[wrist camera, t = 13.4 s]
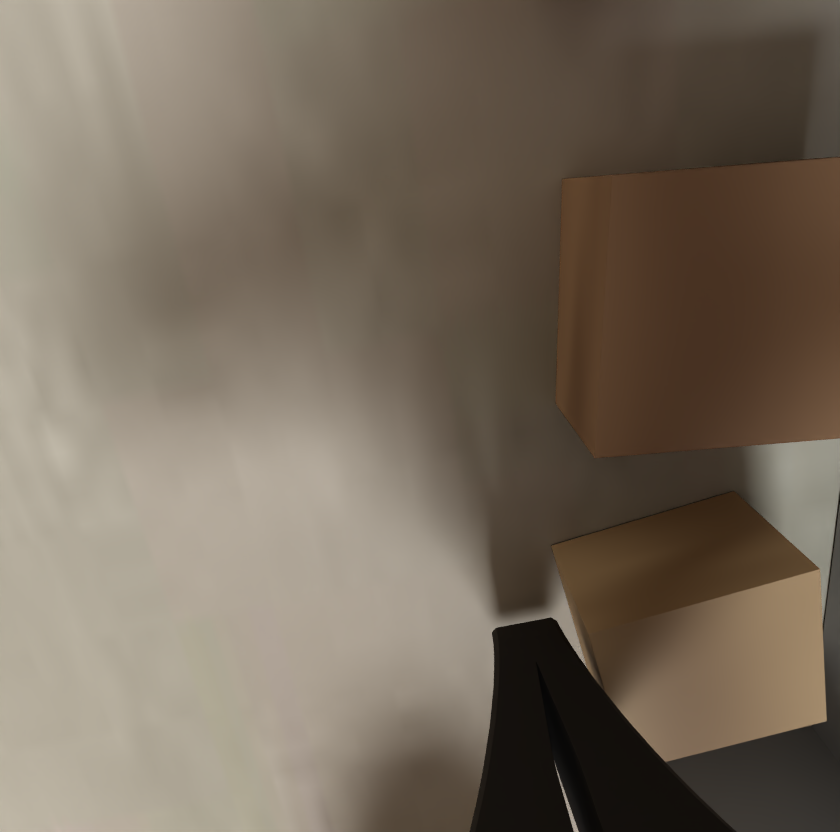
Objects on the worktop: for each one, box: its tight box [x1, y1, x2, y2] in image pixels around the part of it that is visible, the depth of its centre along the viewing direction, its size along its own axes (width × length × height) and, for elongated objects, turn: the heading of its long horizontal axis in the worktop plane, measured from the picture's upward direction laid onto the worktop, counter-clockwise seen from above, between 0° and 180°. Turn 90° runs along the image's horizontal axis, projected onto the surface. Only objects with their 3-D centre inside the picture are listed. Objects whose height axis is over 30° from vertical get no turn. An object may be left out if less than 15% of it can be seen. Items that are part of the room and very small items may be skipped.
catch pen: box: [666, 504, 840, 832], centre depth 8 cm, size 8×27×4 cm, turn 12°
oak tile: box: [551, 491, 827, 762], centre depth 11 cm, size 4×4×2 cm
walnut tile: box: [556, 157, 840, 458], centre depth 9 cm, size 4×4×2 cm
